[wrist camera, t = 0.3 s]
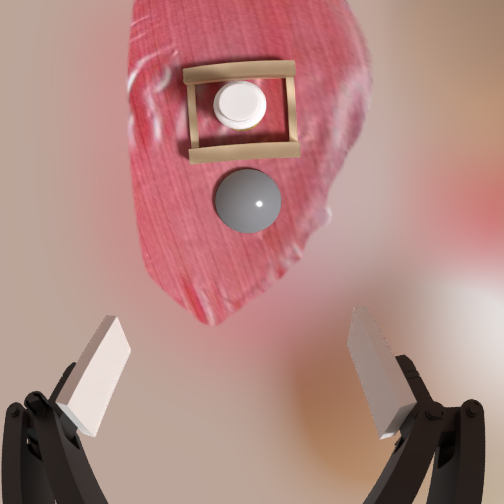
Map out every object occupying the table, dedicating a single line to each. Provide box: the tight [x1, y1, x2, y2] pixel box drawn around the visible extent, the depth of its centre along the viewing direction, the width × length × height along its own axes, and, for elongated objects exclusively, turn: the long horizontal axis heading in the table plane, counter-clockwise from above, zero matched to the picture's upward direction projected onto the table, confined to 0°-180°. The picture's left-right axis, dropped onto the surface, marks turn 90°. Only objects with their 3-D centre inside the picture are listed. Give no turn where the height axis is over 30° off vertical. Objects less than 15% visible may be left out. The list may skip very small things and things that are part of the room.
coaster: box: [215, 169, 281, 233], centre depth 38 cm, size 9×9×1 cm
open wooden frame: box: [183, 60, 301, 165], centre depth 32 cm, size 13×14×2 cm
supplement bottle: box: [214, 81, 266, 131], centre depth 28 cm, size 6×6×10 cm
